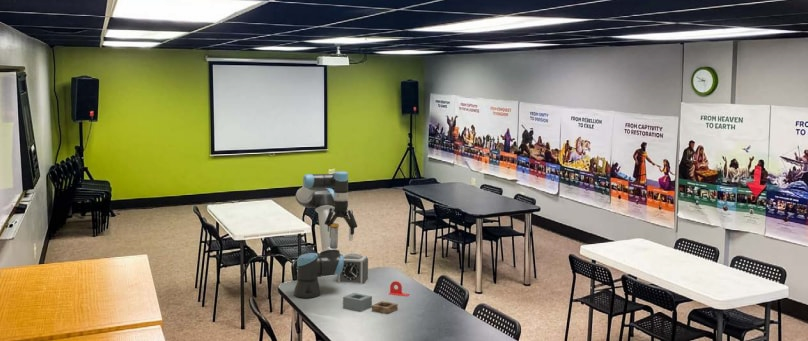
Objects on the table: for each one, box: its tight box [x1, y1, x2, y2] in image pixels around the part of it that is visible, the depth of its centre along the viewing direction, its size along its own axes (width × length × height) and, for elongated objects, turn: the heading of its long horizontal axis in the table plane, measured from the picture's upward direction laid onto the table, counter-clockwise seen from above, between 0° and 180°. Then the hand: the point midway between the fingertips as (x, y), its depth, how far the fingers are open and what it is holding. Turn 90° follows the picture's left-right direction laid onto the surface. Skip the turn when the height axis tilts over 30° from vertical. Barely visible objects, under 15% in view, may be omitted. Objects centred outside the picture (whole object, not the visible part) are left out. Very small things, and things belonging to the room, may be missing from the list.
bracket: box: [388, 280, 411, 297], centre depth 367 cm, size 12×4×8 cm, turn 72°
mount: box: [371, 300, 399, 315], centre depth 339 cm, size 10×10×3 cm
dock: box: [342, 292, 373, 312], centre depth 343 cm, size 12×10×6 cm
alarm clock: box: [337, 253, 369, 285], centre depth 391 cm, size 18×13×18 cm
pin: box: [330, 222, 340, 249], centre depth 346 cm, size 5×5×13 cm
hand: (340, 239), depth 343 cm, fingers open, 13 cm apart
